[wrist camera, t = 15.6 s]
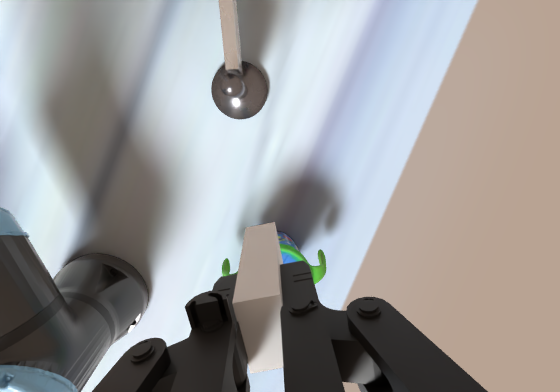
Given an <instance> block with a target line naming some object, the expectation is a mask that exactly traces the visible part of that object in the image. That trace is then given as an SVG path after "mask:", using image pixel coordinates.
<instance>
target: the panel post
mask: <svg viewBox="0 0 560 392" xmlns="http://www.w3.org/2000/svg"><path fill="white" fill-rule="evenodd" d="M242 72H243V75H235V74H232V73H229V72H228V71H227V70H226V68H225V65H224V66H222V67H221V68H220V69H219V70H218V71H217V73H216V74H215V76H214V79H213V82H212V97H213V100H214V102H215V104H216V106H217V107H218V109H219V110H220V111H221V112H222V113H224V114H225V115H227V116H229V117H231V118H234V119H246V118H250V117H252V116H254V115H255V114H257V113H258V112H259V111H260V110H261V109H262V107H263V106H264V104H265V101H266V98H267V85H266V81H265V79H264V77H263V75H262V73H261V72H260V71H259V70H258V69H257V68H256V67H255V66H253V65H252V64H250V63H247V62H243V61H242Z"/></svg>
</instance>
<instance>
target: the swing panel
mask: <svg viewBox="0 0 560 392" xmlns="http://www.w3.org/2000/svg"><path fill="white" fill-rule="evenodd" d="M219 7H220V17H221V27H222V37H223V47H224V57H225V68H226V70H227V71H228V72H229V73H232V74H235V75H243V72H242V60H241V49H240V37H239V26H238V14H237V3H236V0H219Z"/></svg>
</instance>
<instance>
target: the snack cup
mask: <svg viewBox="0 0 560 392" xmlns="http://www.w3.org/2000/svg"><path fill="white" fill-rule="evenodd" d="M277 235H278V240H279V245H280V250H281V255H282V260H283V264H286V263H291V262H297V261H302V260H303V261H304V262H306V263H307V264H308V265H309V266H310V270H311V273H312V277H313V281H314V284H316V283H318V282H319V281H320V280H321V279H322V278H323V277H324V275H325V273H326V259H325V255H324V253H323V251H322V250H319V251H318V259H319V263H320V265H319V266H311V265H310V264H309V263H308V262H307V260H306V259H305V257H304V256H303V255H302V254H301V253H300V251H299V250H298V248H297V246H296V244H295V243H294V242H293V240H292V239H291V238H290V237H289V236H288V235H286V234H285V233H282V232H277ZM229 272H230V264H229V260H228V259H227V258H226V259H225V260H224V262H223V265H222V274H223V276H227V275H233V274H229ZM234 274H238V271H237V272H236V273H234Z"/></svg>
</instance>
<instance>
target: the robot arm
mask: <svg viewBox="0 0 560 392" xmlns="http://www.w3.org/2000/svg"><path fill="white" fill-rule="evenodd" d="M28 237H29V235H28V233H26V232H24V231H23V230H22V228H21V227H20V225H19V224H18V222H17V221H16V219H15V218H14V216H13V215H12V214H11V213H10V212H9V211H8V210H6V209H4V208H0V392H81V391H82V389H83V388H84V386H85V384H86V383H87V381H88V380H89V378H90V377H91V375H92V374H93V372H94V370H95V369H96V367H97V366H98V364H99V363H100V361H101V360H102V358H103V356H104V355H105V353H106V352H107V350H108V349H109V347H110V346H111V345H112V344H113V343H115V342H116V341H118V340H119V339H120V338H122V337H123V336H125V335H126V334H127V333H129V332H130V331H131V330H132V329H133V328H134V327H135V326H136V325H137V324H138V322H139V321H140V319H141V318H142V316H143V314H144V313H145V311H146V308H147V304H148V291H147V287H146V284H145V282H144V280H143V278H142V277H141V275H140V274H139V273H138V272H137V270H136V269H135V268H133V267H132V266H131V265H130V264H128V263H127V262H125V261H123V260H121V259H119V258H117V257H114V256H110V255H105V254H89V255H84V256H81V257H79V258H77V259H75V260H73V261H71V262H70V263H69V264H67V265H66V266H65V267H64V268H62V269H61V270H60V271H59V272H58V273H57V275H56V276H55V277H54V279H52V277H51V276H50V274H49V272H48V270H47V269H46V267H45V265H44V264H43V262H42V260H41V259H40V257H39V255H38V254H37V252H36V250H35V249H34V247H33V245H32V244H31V242H30V240H29V239H28ZM185 309H186V312H187V315H188V319H189V322H190V325H191V328H192V330H191V333H190V336H189V337H188V338H187V339H185V340H183V341H181V342H178V343H176V344H173V345H171V346H168V347H167V346H166V343H165V341H164V340H163V339H160V338H150V339H146V340H144V341H141V342H139V343H137V344H136V345H134V346H132V347H131V348H130V349H129V350H128V351H127V352H125V353H124V355H123V356H122V357H121V358H120V359H119V360H118V362H117V363H116V364H115V365H114V366H113V367H112V369H111V370H110V371H109V372H108V373H107V374H106V376H105V377H104V378H103V379H102V380H101V382H100V383H99V384H98V385H97V386H96V387H95V389H94V390H93V391H92V392H250V384H249V379H248V376H247V363H248V365H249V369H250V373H256V372H262V371H267V370H273V369H278V368H283V369H284V386H285V392H345V390H344V387H343V383H342V382H351V383H357V384H358V386H359V389H360V391H361V392H488V391H486V390H485V389H484V388H483V387H482V386H481V385H480V384H479V383H477V382H476V381H475V380H474V379H473V378H472V377H471V376H470V375H468V374H467V373H466V372H465V371H464V370H463V369H462V368H461V367H460V366H458V365H457V364H456V363H455V362H454V361H453V360H452V359H451V358H450V357H448V356H447V355H446V354H445V353H444V352H443V351H442V350H441V349H439V348H438V347H437V346H436V345H435V344H434V343H433V342H432V341H430V340H429V339H428V338H427V337H426V336H425V335H424V334H423V333H422V332H420V331H419V330H418V329H417V328H416V327H415V326H414V325H413V324H412V323H410V322H409V321H408V320H407V319H406V318H405V317H404V316H403V315H401V314H400V313H399V312H398V311H397V310H396V309H395V308H394V307H392V306H391V305H390V304H389V303H388V302H386V301H385V300H383V299H379V298H376V297H363V298H358V299H356V300H354V301H352V302H351V303H350V304H349V305H348V306H347V311H339V310H332V309H329V308H327V307H325V306H323V305H322V304H321V303H320V301H319V299H318V296H317V292H316V288H315V285H314V281H313V277H312V273H311V270H310V266H309V265H308V264H307V263H306V262H304V261H303V260H302V261H297V262H291V263H286V264H283V260H282V255H281V250H280V245H279V240H278V235H277V230H276V225H275V222H272V223H267V224H262V225H256V226H251V227H246V230H245V235H244V241H243V246H242V252H241V258H240V263H239V269H238V274H233V275H227V276H222V277H220V278H219V279H218V281H217V282H216V283H215V284H214V287H213V290H212V291H208V292H205V293H201V294H199V295H197V296H195V297H194V298H192V299H191V300H190V301H189V302H188V303H187V304H186V306H185Z"/></svg>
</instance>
